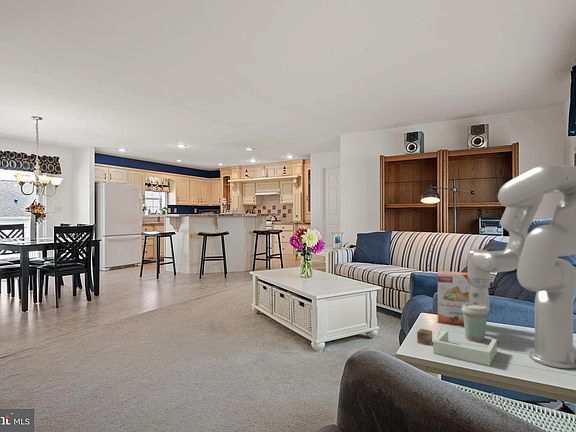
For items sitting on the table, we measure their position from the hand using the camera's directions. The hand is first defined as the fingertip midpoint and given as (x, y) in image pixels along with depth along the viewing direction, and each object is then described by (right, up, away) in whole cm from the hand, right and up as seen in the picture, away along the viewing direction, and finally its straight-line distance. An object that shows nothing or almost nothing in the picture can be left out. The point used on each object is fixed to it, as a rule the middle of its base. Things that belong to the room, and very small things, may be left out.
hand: (479, 330), depth 135 cm
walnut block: (-24, -2, -8) cm, 25 cm away
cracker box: (-3, -1, +13) cm, 13 cm away
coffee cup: (-5, -1, -6) cm, 7 cm away
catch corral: (-14, -1, -18) cm, 23 cm away
